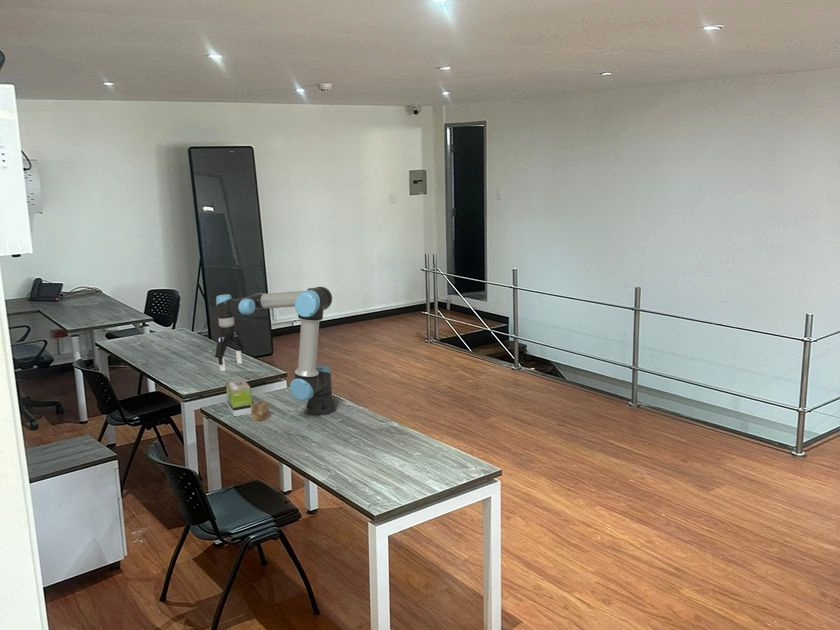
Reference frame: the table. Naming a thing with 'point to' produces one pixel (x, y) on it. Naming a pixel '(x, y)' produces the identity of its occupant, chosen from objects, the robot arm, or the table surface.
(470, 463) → the table surface
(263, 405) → the walnut block
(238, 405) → the tea box
